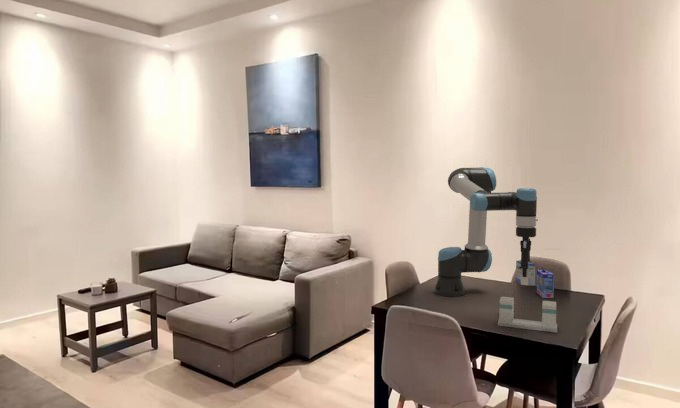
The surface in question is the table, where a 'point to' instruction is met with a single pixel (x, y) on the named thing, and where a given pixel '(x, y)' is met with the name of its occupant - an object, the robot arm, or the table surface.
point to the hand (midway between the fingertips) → (525, 282)
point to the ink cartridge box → (545, 283)
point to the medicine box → (530, 272)
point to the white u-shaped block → (508, 320)
